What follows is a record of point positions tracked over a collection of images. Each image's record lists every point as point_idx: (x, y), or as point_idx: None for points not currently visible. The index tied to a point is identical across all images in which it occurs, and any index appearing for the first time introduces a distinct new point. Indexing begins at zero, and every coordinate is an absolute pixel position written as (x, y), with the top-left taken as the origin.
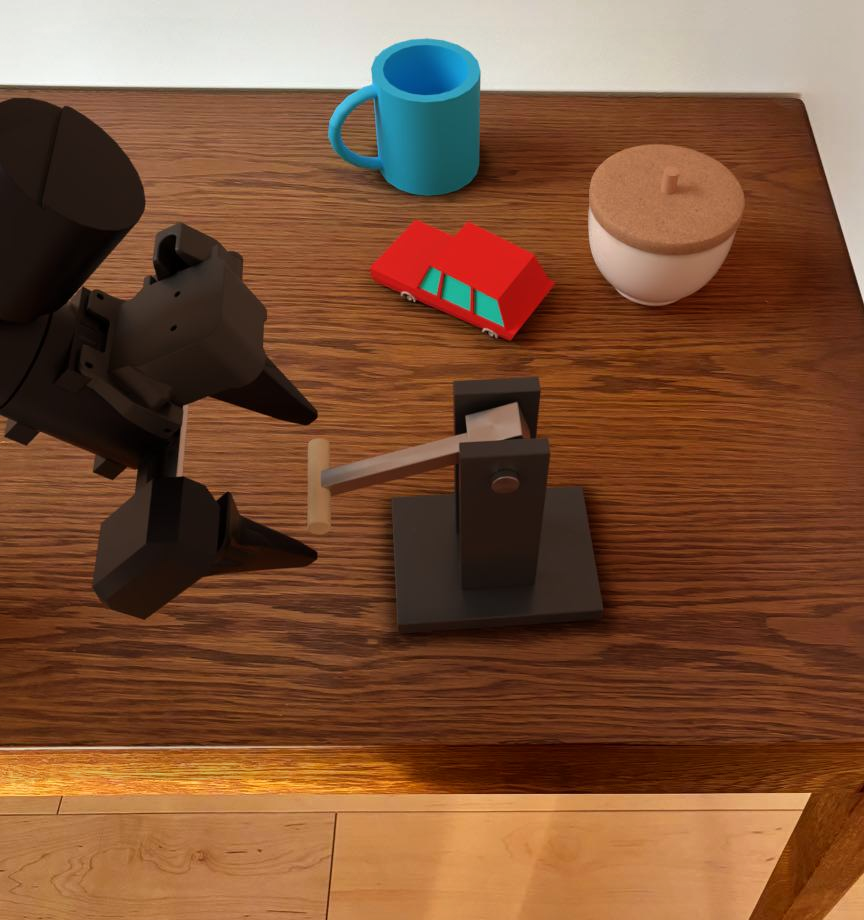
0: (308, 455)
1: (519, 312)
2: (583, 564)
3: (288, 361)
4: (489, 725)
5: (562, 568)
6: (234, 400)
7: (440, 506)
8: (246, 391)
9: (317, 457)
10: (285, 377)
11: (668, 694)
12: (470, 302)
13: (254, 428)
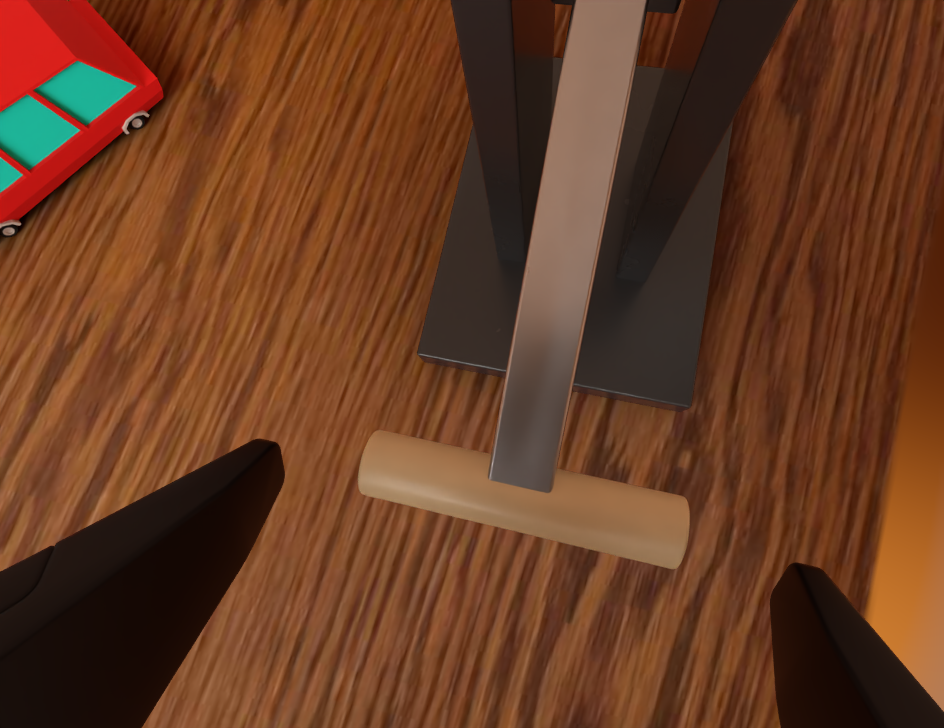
0: (408, 502)
1: (116, 56)
2: (645, 83)
3: (51, 468)
4: (891, 309)
5: (644, 115)
6: (132, 722)
7: (463, 276)
8: (114, 683)
9: (433, 478)
10: (111, 518)
11: (883, 40)
12: (61, 116)
13: None
